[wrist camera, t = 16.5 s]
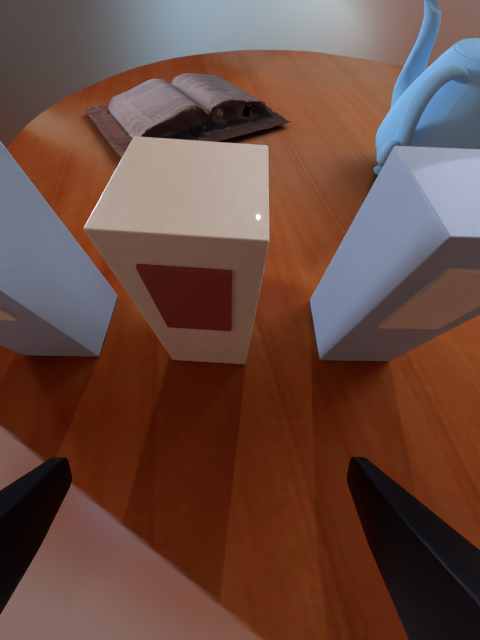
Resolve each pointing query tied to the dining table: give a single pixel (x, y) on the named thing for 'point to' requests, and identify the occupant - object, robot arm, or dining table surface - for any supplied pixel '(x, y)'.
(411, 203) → the block right
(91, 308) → the block left
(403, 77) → the teapot
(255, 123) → the book
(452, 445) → the dining table surface
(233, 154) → the cream block
